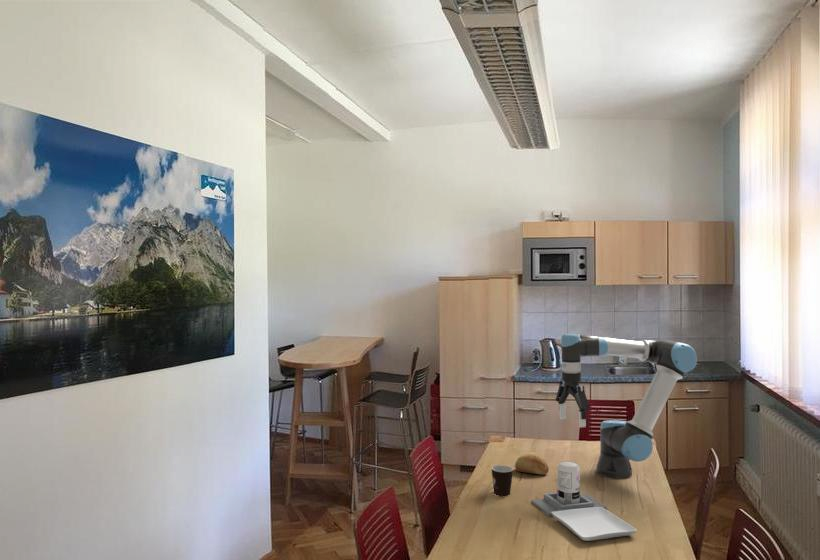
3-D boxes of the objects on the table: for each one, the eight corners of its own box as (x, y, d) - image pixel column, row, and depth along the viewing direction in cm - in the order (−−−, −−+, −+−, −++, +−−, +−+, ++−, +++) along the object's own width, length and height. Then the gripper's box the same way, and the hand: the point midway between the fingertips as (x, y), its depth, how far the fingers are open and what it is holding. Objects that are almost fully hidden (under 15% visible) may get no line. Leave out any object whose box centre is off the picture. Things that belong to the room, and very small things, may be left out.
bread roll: (545, 479, 257) (545, 460, 257) (511, 473, 263) (511, 455, 263) (550, 472, 265) (551, 454, 265) (518, 467, 272) (518, 449, 272)
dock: (585, 496, 237) (585, 488, 237) (606, 509, 223) (606, 501, 223) (531, 502, 230) (531, 494, 230) (549, 516, 217) (549, 508, 217)
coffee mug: (512, 498, 234) (512, 472, 234) (490, 496, 236) (490, 471, 236) (513, 487, 246) (513, 463, 246) (492, 486, 247) (492, 462, 247)
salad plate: (638, 539, 200) (638, 529, 200) (583, 547, 194) (583, 536, 193) (601, 514, 220) (601, 505, 220) (549, 521, 214) (549, 511, 214)
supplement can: (554, 499, 230) (554, 460, 230) (575, 499, 231) (575, 460, 231) (561, 507, 222) (561, 467, 222) (582, 507, 223) (583, 467, 223)
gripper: (546, 367, 256) (547, 417, 257) (582, 377, 233) (583, 431, 233) (561, 366, 259) (562, 415, 259) (598, 375, 235) (599, 429, 236)
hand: (572, 423), depth 246 cm, fingers open, 13 cm apart
